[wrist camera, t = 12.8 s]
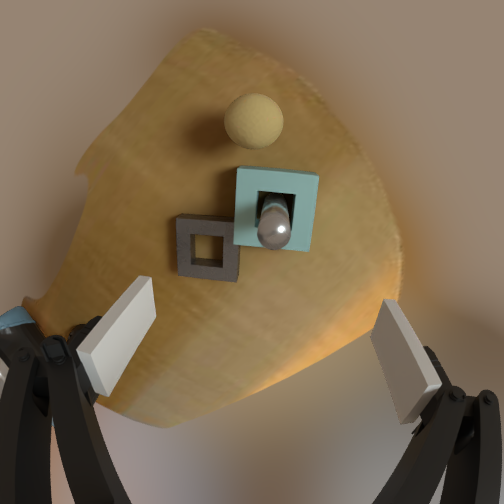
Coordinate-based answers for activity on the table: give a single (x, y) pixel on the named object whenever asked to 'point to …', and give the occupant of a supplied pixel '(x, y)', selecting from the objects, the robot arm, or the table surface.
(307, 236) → the socket
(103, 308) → the table surface
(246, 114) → the light bulb
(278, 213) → the pin
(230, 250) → the mount
